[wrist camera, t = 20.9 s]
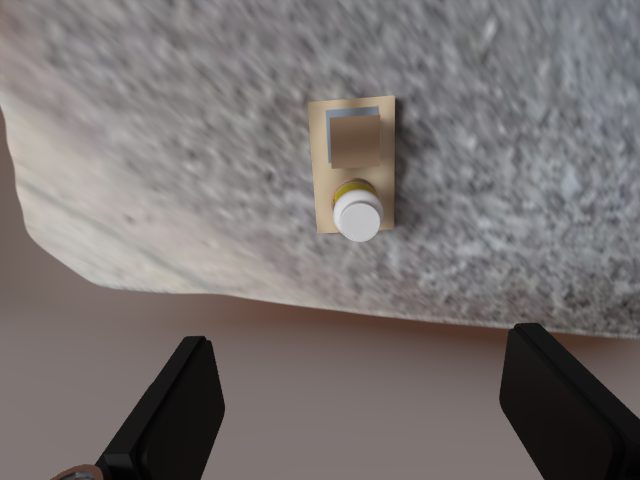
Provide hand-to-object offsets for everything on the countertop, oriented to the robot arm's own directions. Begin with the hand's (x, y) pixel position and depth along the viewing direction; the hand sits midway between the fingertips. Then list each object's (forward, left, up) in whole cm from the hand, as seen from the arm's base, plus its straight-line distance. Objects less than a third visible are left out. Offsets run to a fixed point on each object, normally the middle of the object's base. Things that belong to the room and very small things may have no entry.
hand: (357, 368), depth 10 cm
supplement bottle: (-2, +2, -32) cm, 32 cm away
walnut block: (-2, -6, -32) cm, 33 cm away
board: (-2, -2, -34) cm, 34 cm away
